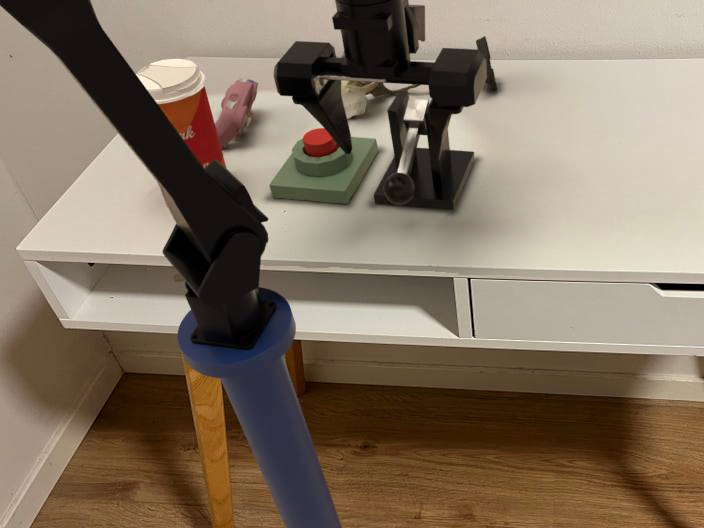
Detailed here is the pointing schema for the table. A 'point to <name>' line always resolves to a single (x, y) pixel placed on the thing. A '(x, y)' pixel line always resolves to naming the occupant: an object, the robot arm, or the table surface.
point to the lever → (407, 154)
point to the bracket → (426, 165)
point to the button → (319, 143)
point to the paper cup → (185, 105)
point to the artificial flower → (357, 90)
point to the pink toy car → (236, 110)
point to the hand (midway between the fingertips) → (393, 155)
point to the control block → (324, 173)
